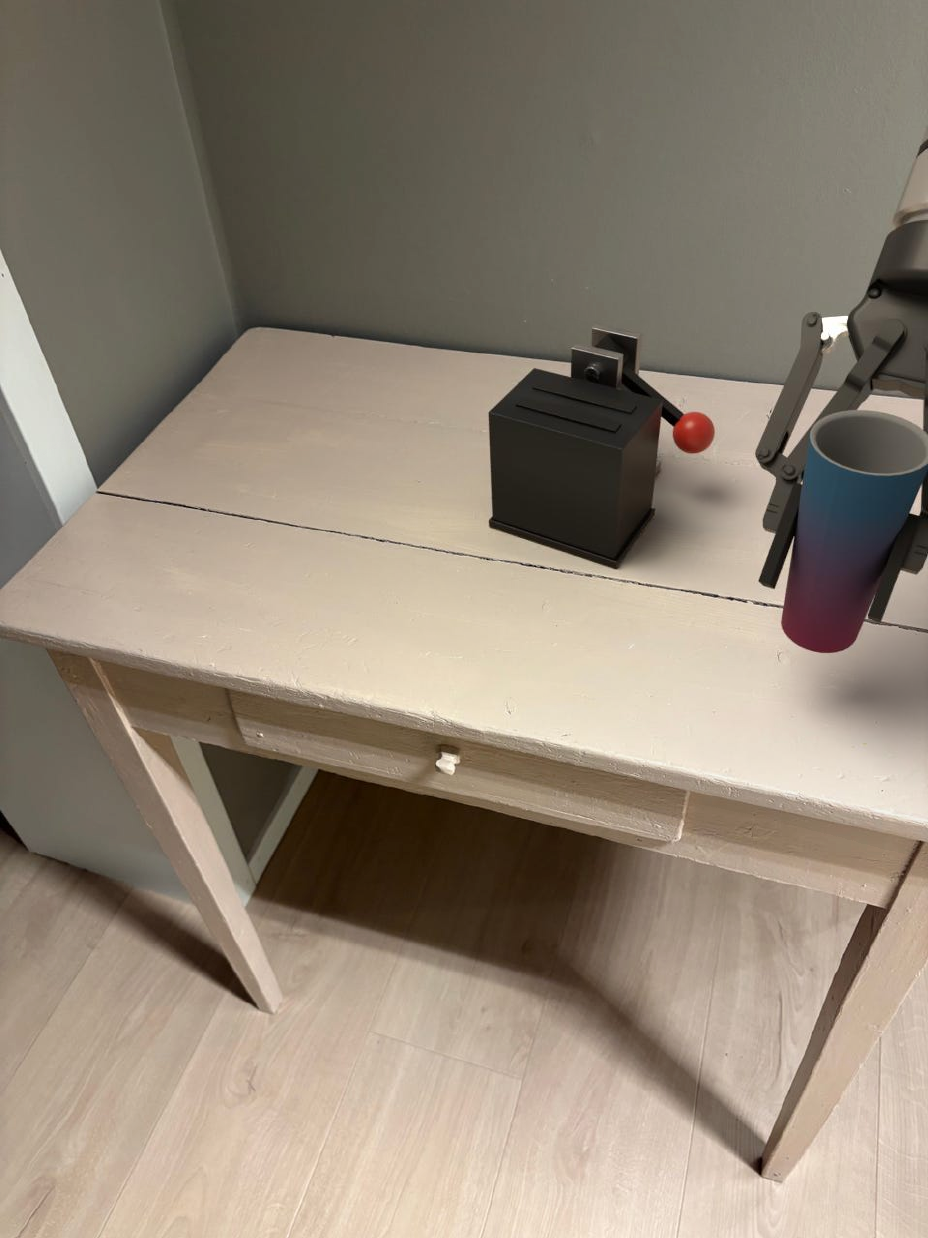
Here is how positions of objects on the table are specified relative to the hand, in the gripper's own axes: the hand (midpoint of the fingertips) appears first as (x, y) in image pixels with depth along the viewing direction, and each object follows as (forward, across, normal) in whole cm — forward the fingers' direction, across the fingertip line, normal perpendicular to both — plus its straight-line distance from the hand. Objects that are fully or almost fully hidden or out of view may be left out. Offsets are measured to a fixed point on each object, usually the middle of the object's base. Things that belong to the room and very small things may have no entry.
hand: (819, 601), depth 60 cm
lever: (-13, +22, -19) cm, 32 cm away
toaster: (-2, +24, -19) cm, 31 cm away
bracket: (-7, +25, -25) cm, 36 cm away
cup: (+1, 0, -6) cm, 7 cm away
